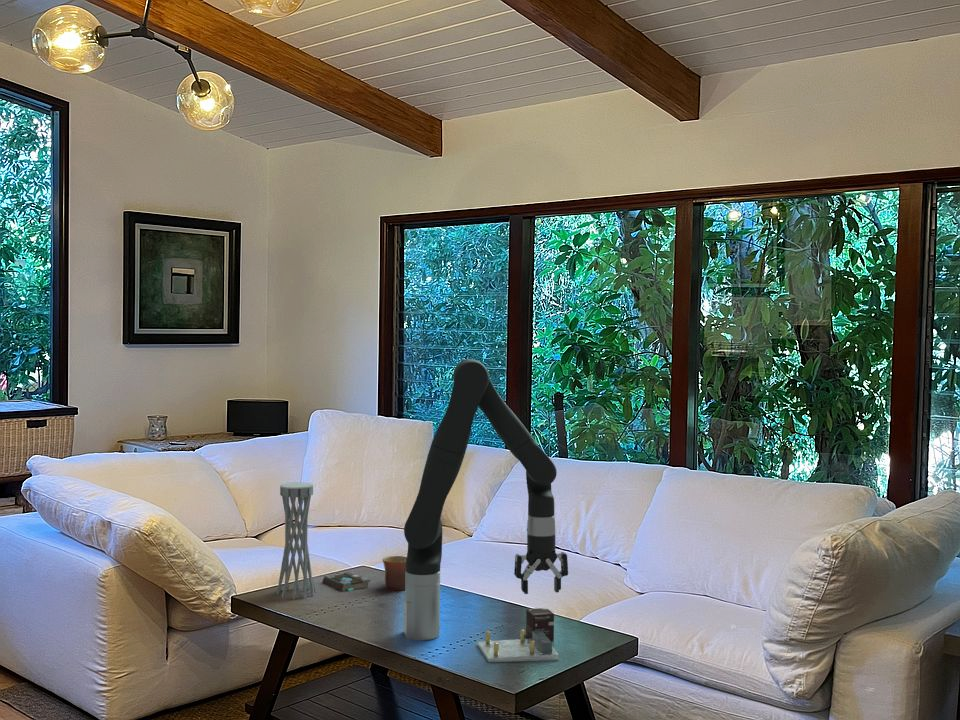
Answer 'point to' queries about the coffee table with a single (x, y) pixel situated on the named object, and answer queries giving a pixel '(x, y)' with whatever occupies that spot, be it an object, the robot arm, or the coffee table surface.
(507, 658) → the chassis
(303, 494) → the grey lattice tower
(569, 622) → the coffee table surface
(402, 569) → the mug
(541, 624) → the box
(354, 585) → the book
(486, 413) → the robot arm
